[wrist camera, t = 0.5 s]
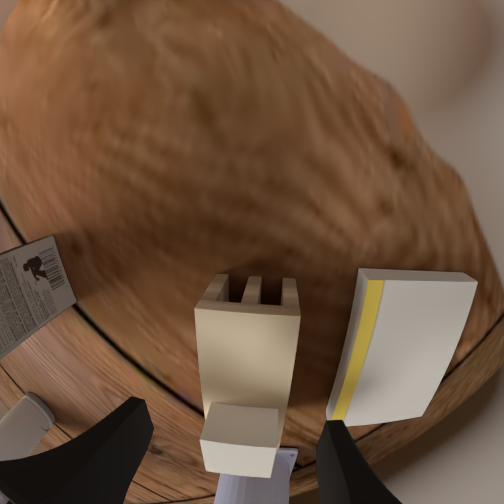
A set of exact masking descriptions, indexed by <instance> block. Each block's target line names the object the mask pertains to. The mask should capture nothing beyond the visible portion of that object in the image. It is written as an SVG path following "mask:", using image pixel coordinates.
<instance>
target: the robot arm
mask: <svg viewBox="0 0 504 504" xmlns="http://www.w3.org/2000/svg"><path fill="white" fill-rule="evenodd" d="M153 431H154V427H153V424H152V421H151V418H150V415H149V412H148V409H147V406H146V403H145V400H144V399H140V398H136V397H133V396H132V397H130V398H129V399H128V400H126V401H125V402H124V403H123V404H121V405H120V406H119V407H118V408H116V409H115V410H114V411H113V412H111V413H110V414H109V415H108V416H106V417H105V418H104V419H102V420H101V421H100V422H98V423H97V424H96V425H94V426H93V427H91V428H90V429H88V430H87V431H85V432H84V433H82V434H81V435H79V436H77V437H76V438H74V439H72V440H70V441H68V442H66V443H64V444H62V445H60V446H58V447H56V448H53V449H51V450H49V451H46V452H43V453H40V454H37V455H33V456H29V457H25V458H20V459H14V460H5V461H0V504H123V502H124V499H125V496H126V493H127V490H128V488H129V486H130V483H131V481H132V479H133V477H134V475H135V473H136V471H137V469H138V467H139V465H140V463H141V461H142V459H143V457H144V455H145V453H146V451H147V449H148V446H149V443H150V440H151V437H152V434H153ZM297 454H298V449H296V448H279V451H278V454H275V459H274V463H273V468H272V473H271V477H270V478H262V477H249V476H239V475H231V474H223V473H221V474H220V478H219V483H218V487H217V492H216V496H215V500H214V504H289V478H290V475H291V472H292V470H293V467H294V464H295V461H296V457H297ZM316 470H317V478H318V486H319V495H320V503H321V504H402V503H401V502H400V501H399V500H398V499H397V498H396V497H395V496H394V495H393V494H392V493H391V492H390V491H389V490H388V489H387V488H386V487H385V485H384V484H383V483H382V482H381V481H380V479H379V478H378V477H377V476H376V474H375V473H374V471H373V470H372V469H371V467H370V466H369V464H368V463H367V461H366V460H365V458H364V457H363V455H362V454H361V452H360V451H359V449H358V447H357V446H356V444H355V442H354V440H353V439H352V437H351V435H350V433H349V431H348V429H347V427H346V425H345V423H344V421H343V420H326V423H325V426H324V428H323V431H322V434H321V437H320V439H319V442H318V444H317V447H316Z"/></svg>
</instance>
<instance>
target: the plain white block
mask: <svg viewBox="0 0 504 504" xmlns="http://www.w3.org/2000/svg"><path fill="white" fill-rule="evenodd" d="M277 429H278V409H271V408H257V407H245V406H236V405H227V404H219V403H212V402H211V404H210V408H209V411H208V414H207V417H206V421H205V424H204V427H203V430H202V433H201V437H200V444H201V449H202V454H203V459H204V463H205V468H206V471H210V472H217V473H223V474H231V475H239V476H249V477H262V478H270V477H271V473H272V468H273V463H274V459H275V454H276V449H277Z"/></svg>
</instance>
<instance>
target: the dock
mask: <svg viewBox="0 0 504 504" xmlns="http://www.w3.org/2000/svg"><path fill="white" fill-rule="evenodd" d="M477 283H478V282H477V281H476V280H474V279H473V278H471V277H470V276H468V275H467V274H465V273H463V272H437V271H413V270H389V269H368V268H359V270H358V276H357V282H356V288H355V294H354V299H353V305H352V310H351V315H350V320H349V325H348V329H347V334H346V338H345V342H344V347H343V351H342V355H341V359H340V363H339V367H338V370H337V374H336V378H335V381H334V385H333V388H332V392H331V395H330V399H329V402H328V405H327V408H326V415H327V420H343V421H344V423H345V425H346V426H357V425H367V424H376V423H384V422H391V421H397V420H403V419H409V418H414V417H419V416H422V415H423V413H424V411H425V410H426V408H427V406H428V404H429V403H430V401H431V399H432V397H433V395H434V393H435V392H436V390H437V388H438V386H439V384H440V382H441V380H442V378H443V376H444V374H445V372H446V369H447V367H448V365H449V363H450V361H451V358H452V356H453V354H454V351H455V349H456V347H457V344H458V342H459V339H460V336H461V334H462V331H463V328H464V326H465V323H466V320H467V317H468V314H469V311H470V308H471V304H472V301H473V298H474V294H475V291H476V287H477Z"/></svg>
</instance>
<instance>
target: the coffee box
mask: <svg viewBox="0 0 504 504" xmlns="http://www.w3.org/2000/svg"><path fill="white" fill-rule="evenodd" d="M74 303H76V298H75V296H74V293H73V291H72V288H71V286H70V283H69V281H68V278H67V275H66V273H65V270H64V267H63V264H62V261H61V258H60V255H59V252H58V249H57V246H56V243H55V240H54V237H53V236H52V235H49V236H46V237H43V238H40V239H38V240H35V241H32V242H29V243H26V244H24V245H21V246H18V247H15V248H13V249H10V250H8V251H5V252H2V253H0V360H1V359H2V358H3V357H5V356H6V355H7V354H8V353H10V352H11V351H12V350H13V349H15V348H16V347H17V346H18V345H20V344H21V343H22V342H23V341H25V340H26V339H27V338H29V337H30V336H31V335H32V334H34V333H35V332H36V331H38V330H39V329H40V328H42V327H43V326H45V325H46V324H47V323H48V322H50V321H51V320H53V319H54V318H55V317H57V316H58V315H59V314H61V313H62V312H63V311H65V310H66V309H67V308H69V307H70V306H72V305H73V304H74Z"/></svg>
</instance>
